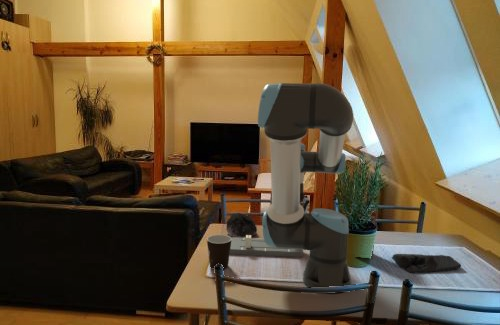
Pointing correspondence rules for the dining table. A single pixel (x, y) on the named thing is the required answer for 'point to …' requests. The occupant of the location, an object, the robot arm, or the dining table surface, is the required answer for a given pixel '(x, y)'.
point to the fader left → (248, 241)
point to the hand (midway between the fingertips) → (291, 238)
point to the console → (260, 248)
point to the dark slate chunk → (425, 262)
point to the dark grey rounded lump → (240, 226)
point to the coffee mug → (219, 250)
